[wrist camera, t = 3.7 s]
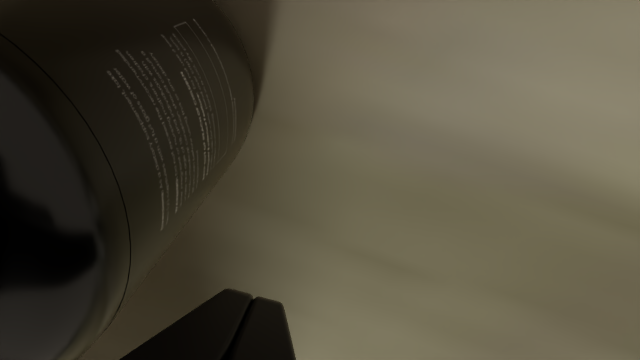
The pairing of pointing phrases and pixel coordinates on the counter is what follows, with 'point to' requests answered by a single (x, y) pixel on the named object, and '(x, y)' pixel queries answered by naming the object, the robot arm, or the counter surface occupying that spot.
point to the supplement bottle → (105, 154)
